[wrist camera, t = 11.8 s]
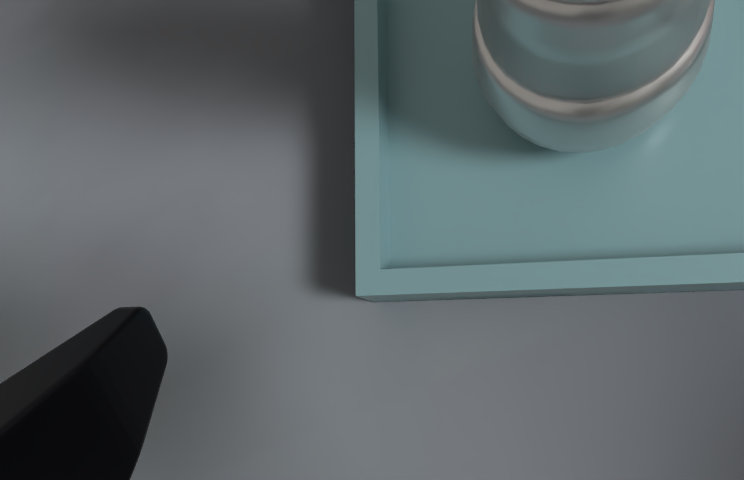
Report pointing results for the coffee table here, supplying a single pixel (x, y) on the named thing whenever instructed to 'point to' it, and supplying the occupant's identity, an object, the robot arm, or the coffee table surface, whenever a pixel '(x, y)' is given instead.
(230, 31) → the coffee table surface
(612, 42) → the plastic bottle
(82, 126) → the coffee table surface
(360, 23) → the tray
